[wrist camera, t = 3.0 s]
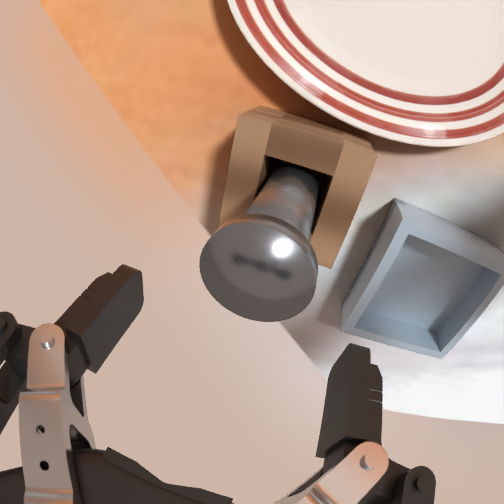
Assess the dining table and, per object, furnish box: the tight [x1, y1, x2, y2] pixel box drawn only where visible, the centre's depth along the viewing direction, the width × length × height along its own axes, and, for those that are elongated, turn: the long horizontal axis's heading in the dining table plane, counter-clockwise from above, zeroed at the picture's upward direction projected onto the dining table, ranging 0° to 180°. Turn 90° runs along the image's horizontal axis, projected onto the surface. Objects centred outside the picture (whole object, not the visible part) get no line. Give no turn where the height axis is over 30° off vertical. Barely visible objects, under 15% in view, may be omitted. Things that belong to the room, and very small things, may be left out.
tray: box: [340, 198, 504, 359], centre depth 25 cm, size 13×13×4 cm
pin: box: [200, 160, 322, 322], centre depth 18 cm, size 5×5×15 cm
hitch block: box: [218, 106, 377, 269], centre depth 22 cm, size 9×9×6 cm
